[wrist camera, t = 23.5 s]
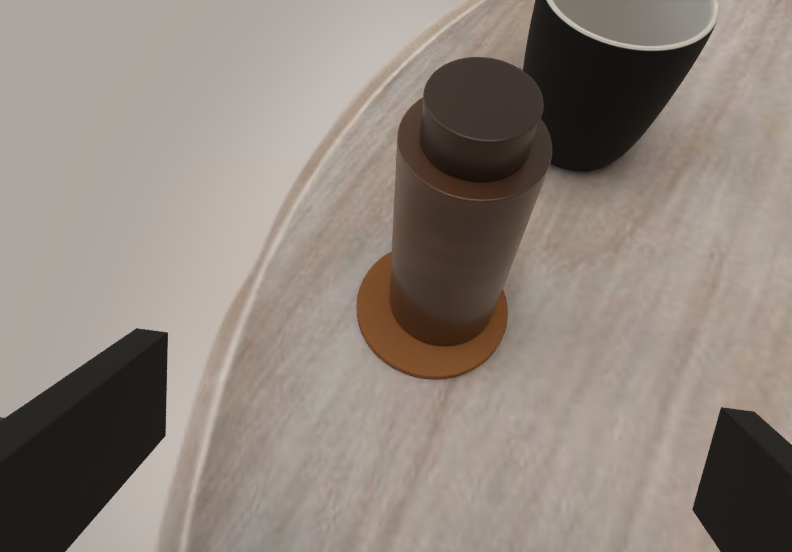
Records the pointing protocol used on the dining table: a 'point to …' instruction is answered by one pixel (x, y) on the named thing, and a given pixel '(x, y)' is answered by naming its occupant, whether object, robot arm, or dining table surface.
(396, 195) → the pepper mill
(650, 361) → the dining table surface
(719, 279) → the dining table surface
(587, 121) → the mug
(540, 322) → the dining table surface
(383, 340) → the coaster
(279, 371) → the dining table surface
